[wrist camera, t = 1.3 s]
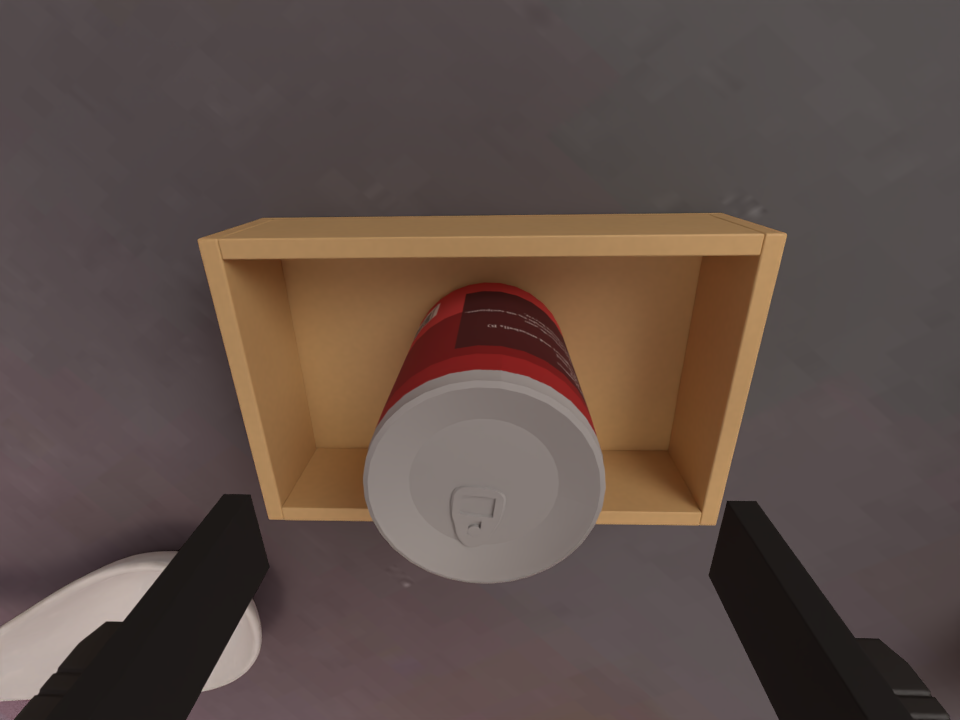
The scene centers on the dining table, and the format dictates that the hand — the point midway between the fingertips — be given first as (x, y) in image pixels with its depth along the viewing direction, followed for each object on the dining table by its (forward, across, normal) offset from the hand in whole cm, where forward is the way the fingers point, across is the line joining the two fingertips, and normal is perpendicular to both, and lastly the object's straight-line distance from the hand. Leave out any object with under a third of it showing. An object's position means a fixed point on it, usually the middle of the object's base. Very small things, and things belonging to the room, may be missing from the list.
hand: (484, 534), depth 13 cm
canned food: (+13, 0, 0) cm, 13 cm away
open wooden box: (+13, 0, 0) cm, 13 cm away
